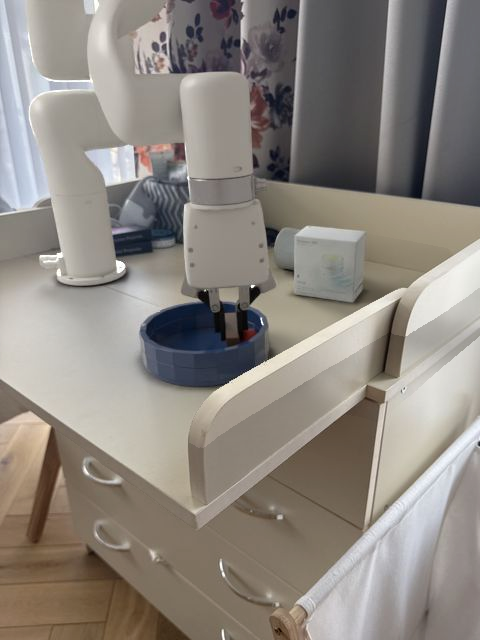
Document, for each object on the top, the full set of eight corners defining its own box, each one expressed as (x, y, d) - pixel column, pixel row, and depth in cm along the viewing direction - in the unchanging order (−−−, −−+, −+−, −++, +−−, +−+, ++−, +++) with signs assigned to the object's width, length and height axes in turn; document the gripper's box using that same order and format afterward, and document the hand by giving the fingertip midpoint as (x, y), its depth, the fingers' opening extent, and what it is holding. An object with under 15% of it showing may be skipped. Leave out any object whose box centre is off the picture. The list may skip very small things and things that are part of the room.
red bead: (232, 342, 71) (253, 335, 70) (234, 328, 73) (254, 321, 72) (242, 358, 72) (263, 351, 71) (244, 344, 75) (264, 337, 74)
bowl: (138, 391, 65) (133, 358, 63) (148, 332, 80) (145, 304, 78) (275, 381, 66) (275, 348, 64) (261, 325, 81) (260, 297, 79)
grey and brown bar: (240, 355, 67) (239, 337, 66) (227, 356, 67) (226, 338, 66) (236, 328, 75) (235, 312, 74) (224, 329, 75) (223, 313, 74)
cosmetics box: (292, 295, 92) (293, 234, 87) (305, 283, 97) (306, 224, 92) (353, 304, 88) (357, 240, 83) (363, 290, 93) (367, 230, 88)
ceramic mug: (312, 278, 99) (313, 237, 95) (272, 272, 102) (272, 231, 99) (334, 263, 107) (336, 224, 104) (297, 257, 111) (297, 220, 107)
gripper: (284, 182, 67) (287, 321, 75) (156, 190, 66) (173, 329, 74) (293, 192, 60) (295, 343, 68) (150, 201, 59) (169, 353, 67)
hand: (231, 335), depth 71 cm, fingers closed on grey and brown bar
